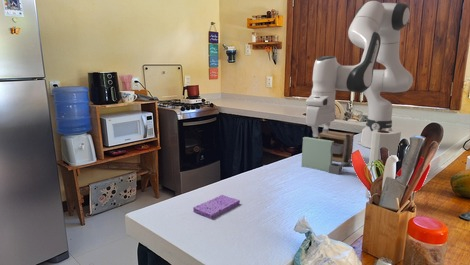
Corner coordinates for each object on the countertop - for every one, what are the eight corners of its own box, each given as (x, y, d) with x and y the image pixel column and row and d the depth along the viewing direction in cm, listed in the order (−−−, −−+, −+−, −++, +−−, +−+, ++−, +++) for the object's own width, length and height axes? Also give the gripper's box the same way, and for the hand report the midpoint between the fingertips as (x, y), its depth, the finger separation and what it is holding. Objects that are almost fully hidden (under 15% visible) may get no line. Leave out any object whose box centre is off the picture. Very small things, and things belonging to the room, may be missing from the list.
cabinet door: (304, 164, 132) (306, 136, 129) (342, 172, 122) (344, 142, 120) (300, 166, 129) (301, 138, 126) (338, 174, 119) (340, 144, 117)
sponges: (193, 213, 88) (192, 207, 88) (222, 199, 98) (222, 193, 98) (211, 221, 84) (211, 214, 84) (240, 205, 94) (240, 199, 93)
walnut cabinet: (325, 153, 149) (326, 126, 146) (359, 159, 139) (361, 130, 137) (312, 160, 138) (313, 131, 135) (348, 167, 128) (351, 136, 126)
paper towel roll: (363, 198, 98) (369, 131, 93) (369, 192, 102) (375, 128, 98) (387, 205, 93) (395, 134, 89) (393, 198, 98) (401, 131, 93)
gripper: (325, 97, 130) (323, 130, 133) (303, 100, 114) (301, 137, 117) (340, 98, 126) (338, 132, 129) (320, 101, 110) (317, 140, 113)
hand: (320, 134), depth 123 cm, fingers open, 8 cm apart
